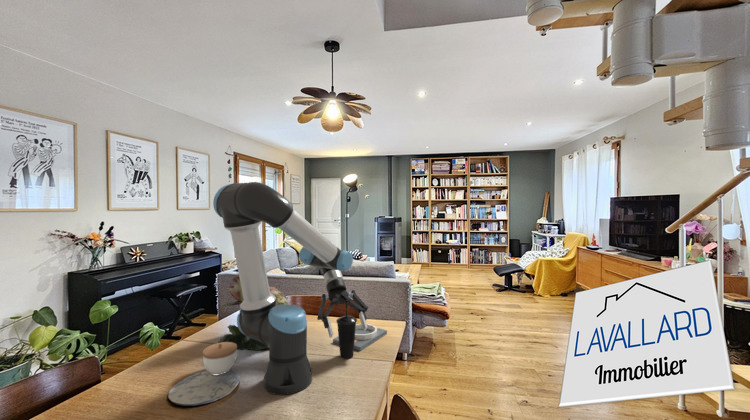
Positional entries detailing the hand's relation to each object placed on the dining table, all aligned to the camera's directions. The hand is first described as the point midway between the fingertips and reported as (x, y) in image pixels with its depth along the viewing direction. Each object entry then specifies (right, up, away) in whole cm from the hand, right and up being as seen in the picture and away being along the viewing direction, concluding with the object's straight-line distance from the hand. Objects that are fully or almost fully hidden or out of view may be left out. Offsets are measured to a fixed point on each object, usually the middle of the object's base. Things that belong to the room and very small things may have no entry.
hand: (349, 332), depth 119 cm
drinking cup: (-1, -10, +2) cm, 10 cm away
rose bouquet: (-40, -10, +20) cm, 46 cm away
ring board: (+4, -9, +18) cm, 21 cm away
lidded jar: (-44, -10, -8) cm, 46 cm away
